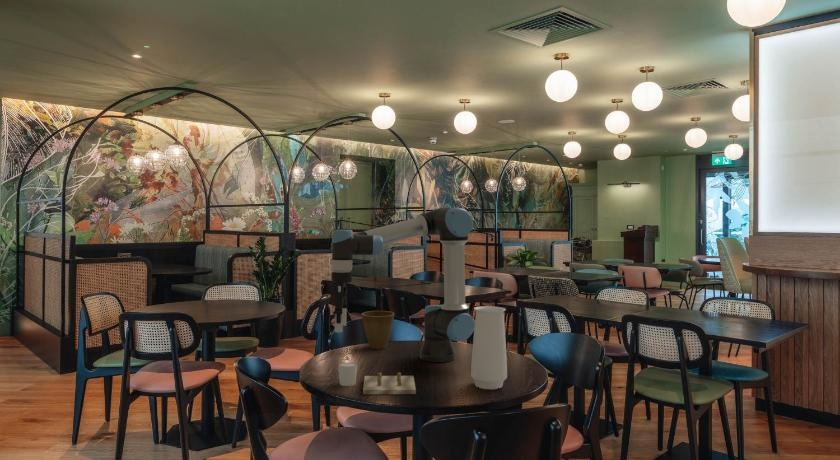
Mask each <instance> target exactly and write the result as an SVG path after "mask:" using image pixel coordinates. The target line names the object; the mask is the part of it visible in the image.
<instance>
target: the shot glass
mask: <svg viewBox="0 0 840 460" xmlns="http://www.w3.org/2000/svg"><path fill="white" fill-rule="evenodd" d="M357 372H358V364H357V363H354V362H343V363H339V364H338V376H339V385H340V386H343V387H353V386H355V385H356V382H357Z"/></svg>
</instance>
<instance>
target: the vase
mask: <svg viewBox="0 0 840 460" xmlns="http://www.w3.org/2000/svg"><path fill="white" fill-rule="evenodd" d="M473 310H475V317H474V318H475V319H474V322H475V327H474V331H473V340H472V353H471V364H470V365H471V366H470V368H471V369H470V376H471V379H473V381H474V386H475V387H477V388H478V387H479V389H482V390H497V389H498V388H499V389H501V388H503V386H504V382H505V380H506V379H507V378H508V361H507V344H506V343H507V342H506V328H505V327H506V326H505V313H504V312H505V311H506V310H507V309H506V307H501V306H496V305H495V306H493V305H486V306H485V305H482V306H480V305H479V306H476V307H475V306H474V307H473Z"/></svg>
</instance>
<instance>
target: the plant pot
mask: <svg viewBox="0 0 840 460" xmlns="http://www.w3.org/2000/svg"><path fill="white" fill-rule="evenodd" d="M361 317H362V323H363V328H364V332H365V337H366V340H367V343H368V345H369V347H370V349H373V350H384V349H386V348H387V346H388V343H389V340H390V337H391V334H392V333H391V332H392V329H393V324H394V318H395V312H393V311H387V310H371V311H365V312H362V313H361Z"/></svg>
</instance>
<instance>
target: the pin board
mask: <svg viewBox="0 0 840 460" xmlns="http://www.w3.org/2000/svg"><path fill="white" fill-rule="evenodd" d="M382 373H383V372H377V375H364V381H363V387H362V388H363V389H362V395H416V393H417V391H416V390H417V389H416V388H417V387H416V383H415V377H414V375H402V373H401V372H396V375H382Z"/></svg>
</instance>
